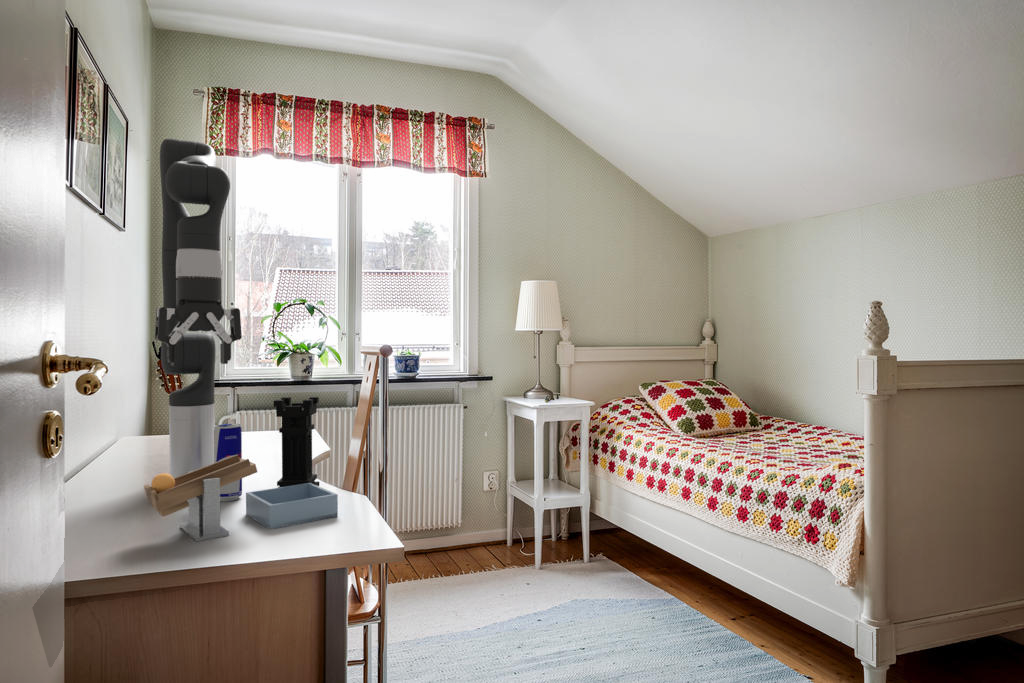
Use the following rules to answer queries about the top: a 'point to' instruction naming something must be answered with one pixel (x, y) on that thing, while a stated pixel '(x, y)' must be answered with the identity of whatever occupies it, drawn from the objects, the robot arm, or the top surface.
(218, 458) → the beverage can
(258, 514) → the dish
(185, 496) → the lever
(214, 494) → the fulcrum
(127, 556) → the top surface
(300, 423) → the chess piece
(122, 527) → the top surface
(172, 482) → the ball
